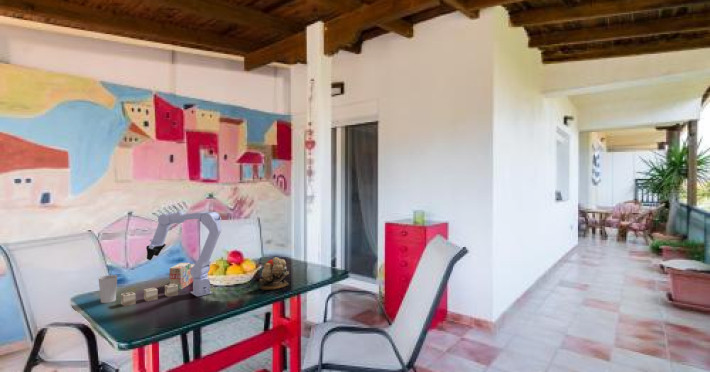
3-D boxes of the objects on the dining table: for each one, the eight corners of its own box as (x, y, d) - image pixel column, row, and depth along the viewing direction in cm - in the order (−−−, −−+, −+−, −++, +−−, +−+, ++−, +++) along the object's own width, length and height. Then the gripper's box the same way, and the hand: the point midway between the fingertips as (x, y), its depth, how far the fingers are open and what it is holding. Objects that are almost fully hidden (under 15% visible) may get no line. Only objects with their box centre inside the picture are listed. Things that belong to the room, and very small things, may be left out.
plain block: (157, 299, 189) (157, 289, 189) (146, 301, 186) (146, 291, 185) (154, 297, 193) (154, 287, 192) (143, 299, 189) (143, 289, 189)
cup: (121, 299, 189) (121, 275, 188) (106, 304, 181) (106, 279, 181) (110, 297, 191) (109, 274, 191) (94, 302, 184) (94, 278, 184)
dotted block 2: (178, 294, 196) (178, 285, 196) (168, 297, 193) (168, 287, 192) (174, 292, 200) (174, 283, 200) (164, 294, 196) (164, 285, 196)
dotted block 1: (135, 304, 182) (135, 293, 182) (123, 306, 178) (123, 296, 178) (132, 301, 186) (132, 291, 185) (121, 303, 182) (121, 293, 182)
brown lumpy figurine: (282, 281, 221) (283, 253, 221) (294, 286, 213) (294, 256, 212) (255, 287, 209) (255, 257, 208) (266, 292, 200) (266, 261, 200)
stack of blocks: (187, 279, 226) (187, 259, 226) (197, 279, 226) (197, 259, 226) (169, 289, 205) (169, 267, 204) (180, 290, 205) (180, 267, 204)
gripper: (159, 229, 207) (151, 251, 208) (146, 234, 193) (138, 258, 194) (171, 233, 208) (163, 255, 209) (160, 239, 194) (151, 263, 195)
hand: (152, 257), depth 202 cm, fingers open, 7 cm apart
